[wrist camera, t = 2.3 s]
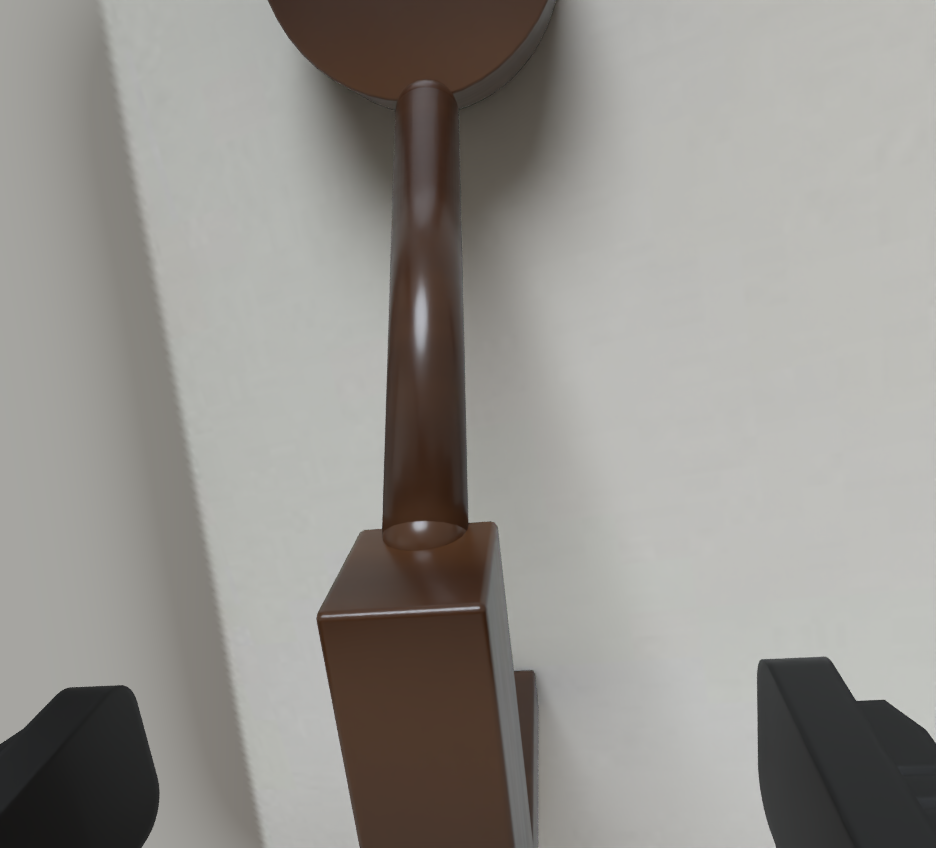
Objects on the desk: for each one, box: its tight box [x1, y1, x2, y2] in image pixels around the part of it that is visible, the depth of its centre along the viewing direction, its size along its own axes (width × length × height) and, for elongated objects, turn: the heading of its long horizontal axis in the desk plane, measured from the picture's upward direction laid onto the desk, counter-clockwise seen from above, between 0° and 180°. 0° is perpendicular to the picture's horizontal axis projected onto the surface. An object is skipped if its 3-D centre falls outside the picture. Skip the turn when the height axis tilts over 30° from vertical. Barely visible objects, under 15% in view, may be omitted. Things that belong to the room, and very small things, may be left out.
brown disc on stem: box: [268, 0, 556, 848], centre depth 13 cm, size 21×6×10 cm, turn 6°
